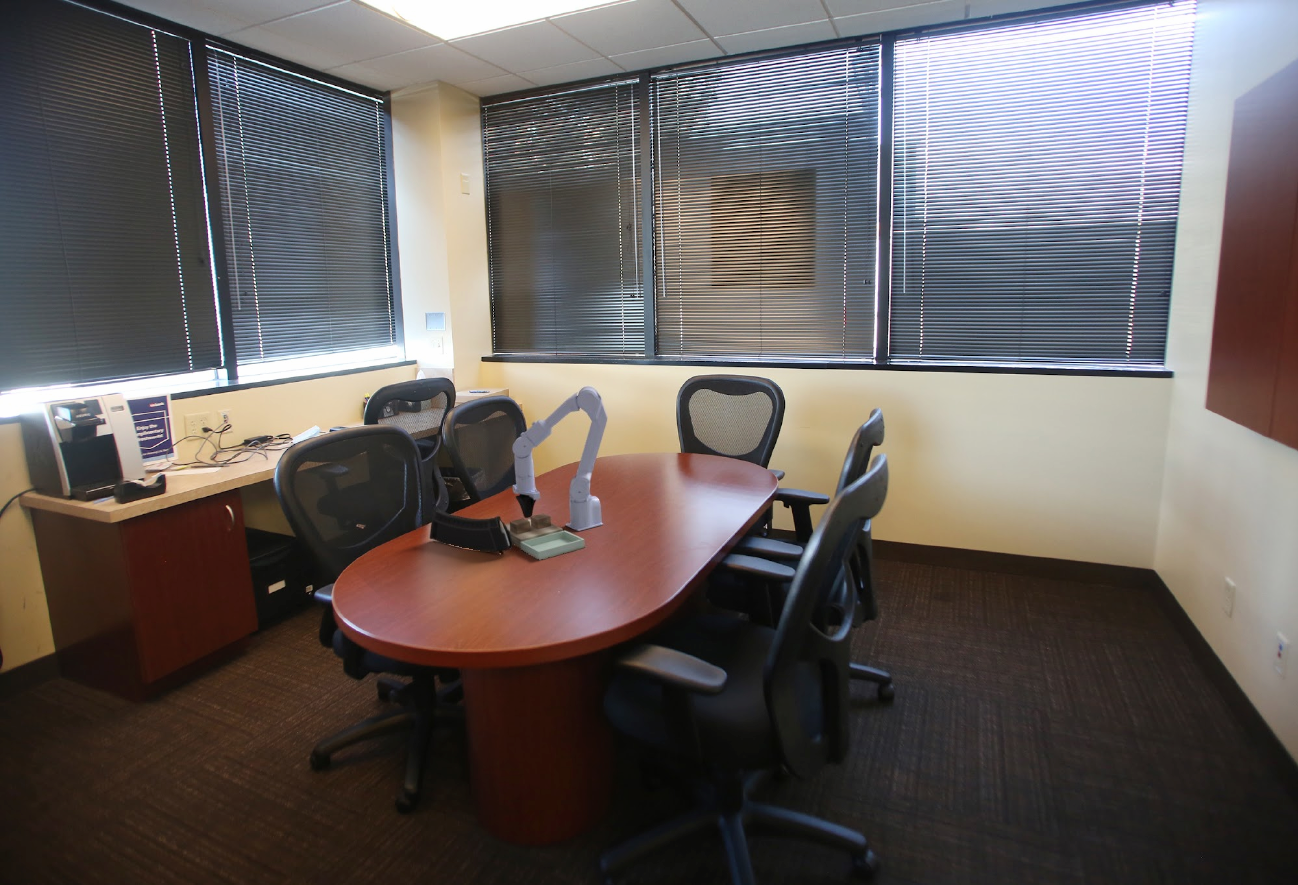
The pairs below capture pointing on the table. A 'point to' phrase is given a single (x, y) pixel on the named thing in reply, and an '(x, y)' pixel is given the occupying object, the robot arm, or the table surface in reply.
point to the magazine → (471, 532)
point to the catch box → (552, 545)
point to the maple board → (533, 533)
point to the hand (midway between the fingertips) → (528, 517)
